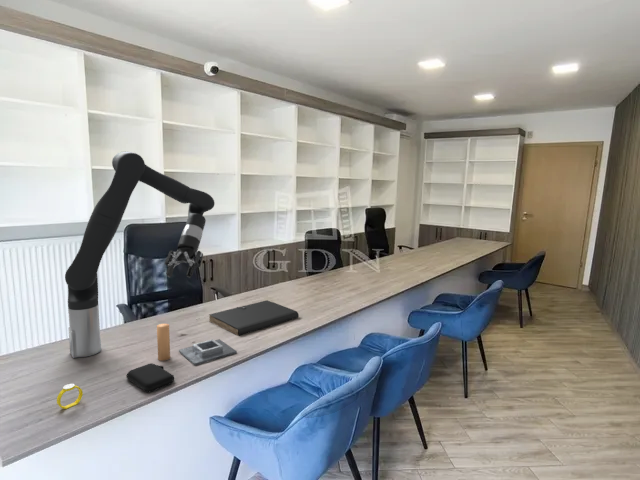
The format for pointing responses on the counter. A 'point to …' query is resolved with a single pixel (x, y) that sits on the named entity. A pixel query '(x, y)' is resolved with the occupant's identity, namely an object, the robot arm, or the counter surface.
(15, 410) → the counter surface
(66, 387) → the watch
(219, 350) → the mounting plate
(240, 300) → the counter surface
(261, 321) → the black book
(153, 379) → the carrying case or bag
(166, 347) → the post
